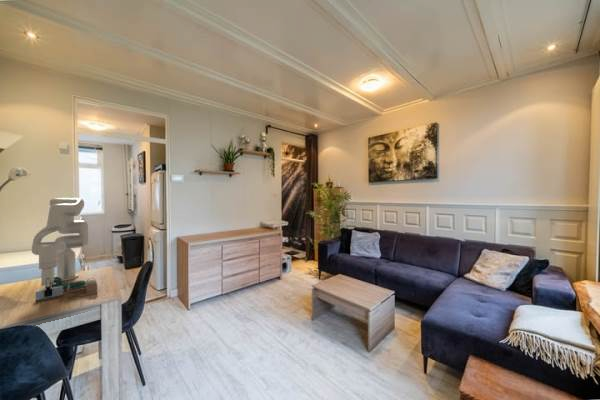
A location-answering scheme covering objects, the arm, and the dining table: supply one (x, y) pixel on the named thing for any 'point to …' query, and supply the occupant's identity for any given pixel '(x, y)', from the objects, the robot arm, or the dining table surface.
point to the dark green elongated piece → (65, 286)
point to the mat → (48, 298)
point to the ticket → (55, 292)
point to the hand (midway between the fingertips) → (48, 294)
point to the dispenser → (83, 289)
